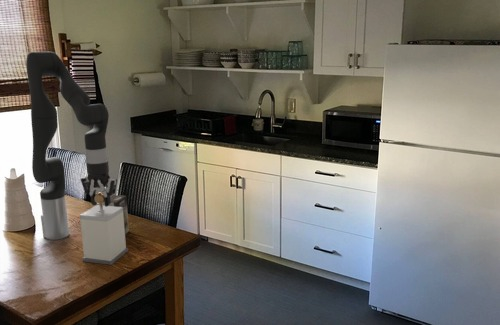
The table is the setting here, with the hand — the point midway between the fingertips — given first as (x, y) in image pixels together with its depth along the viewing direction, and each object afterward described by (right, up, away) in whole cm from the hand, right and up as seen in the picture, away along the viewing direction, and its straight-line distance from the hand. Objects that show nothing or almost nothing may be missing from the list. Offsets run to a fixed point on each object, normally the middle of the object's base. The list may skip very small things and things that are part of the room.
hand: (101, 205), depth 172 cm
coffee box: (-1, -15, +24) cm, 29 cm away
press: (0, -19, +7) cm, 20 cm away
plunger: (0, -15, +4) cm, 15 cm away
